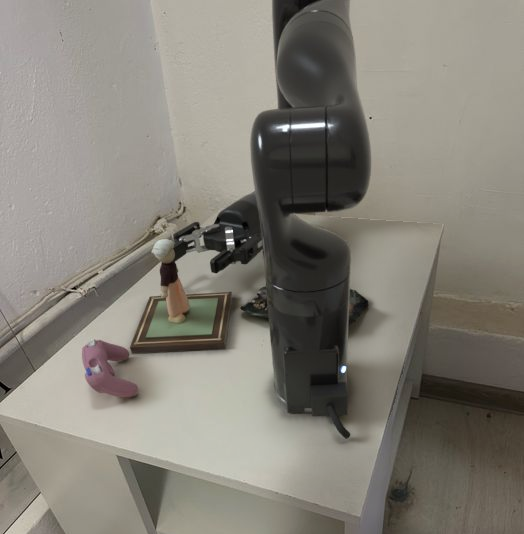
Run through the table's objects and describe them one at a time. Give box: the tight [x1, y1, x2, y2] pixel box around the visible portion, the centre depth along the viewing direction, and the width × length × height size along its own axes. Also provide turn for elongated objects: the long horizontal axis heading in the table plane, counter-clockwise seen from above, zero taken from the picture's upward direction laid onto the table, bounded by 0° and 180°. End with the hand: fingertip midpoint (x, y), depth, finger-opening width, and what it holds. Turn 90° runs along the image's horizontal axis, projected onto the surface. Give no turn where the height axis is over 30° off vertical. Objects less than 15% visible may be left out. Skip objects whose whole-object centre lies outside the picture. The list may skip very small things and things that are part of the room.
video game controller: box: [81, 338, 140, 398], centre depth 65 cm, size 10×5×7 cm, turn 21°
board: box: [129, 291, 233, 355], centre depth 76 cm, size 14×14×1 cm
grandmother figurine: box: [151, 238, 190, 323], centre depth 73 cm, size 8×4×13 cm, turn 7°
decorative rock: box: [239, 286, 369, 325], centre depth 75 cm, size 19×6×15 cm
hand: (190, 262), depth 74 cm, fingers open, 8 cm apart
